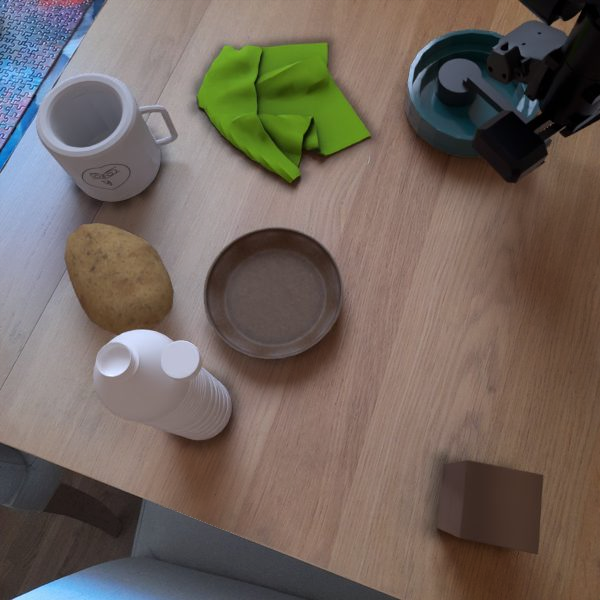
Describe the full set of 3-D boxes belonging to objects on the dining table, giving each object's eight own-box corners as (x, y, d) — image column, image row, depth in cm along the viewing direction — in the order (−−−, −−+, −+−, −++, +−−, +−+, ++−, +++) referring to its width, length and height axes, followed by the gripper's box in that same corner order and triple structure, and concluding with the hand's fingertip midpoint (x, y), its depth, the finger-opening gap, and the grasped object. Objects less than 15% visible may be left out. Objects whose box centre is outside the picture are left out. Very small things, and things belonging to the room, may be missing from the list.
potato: (130, 222, 66) (103, 188, 58) (204, 307, 62) (187, 283, 55) (62, 275, 64) (25, 248, 57) (134, 366, 61) (106, 349, 53)
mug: (79, 212, 67) (37, 168, 57) (70, 136, 70) (29, 82, 61) (191, 187, 67) (167, 138, 57) (177, 112, 70) (153, 54, 61)
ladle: (426, 87, 69) (431, 64, 65) (458, 65, 69) (464, 41, 66) (520, 175, 64) (530, 156, 60) (553, 151, 64) (565, 130, 61)
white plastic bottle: (168, 440, 58) (53, 410, 34) (173, 377, 60) (69, 308, 36) (252, 441, 58) (195, 412, 34) (255, 378, 60) (203, 308, 36)
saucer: (200, 250, 64) (194, 240, 62) (327, 224, 65) (326, 214, 62) (219, 376, 60) (213, 372, 57) (355, 348, 60) (356, 342, 57)
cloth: (207, 39, 74) (203, 24, 71) (377, 45, 72) (378, 31, 69) (182, 178, 67) (177, 167, 65) (367, 188, 66) (368, 178, 63)
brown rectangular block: (505, 475, 55) (543, 474, 45) (500, 541, 54) (538, 554, 44) (443, 463, 56) (467, 459, 46) (436, 527, 54) (459, 538, 44)
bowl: (536, 61, 70) (548, 37, 66) (527, 168, 65) (539, 149, 61) (412, 47, 71) (417, 22, 68) (395, 150, 67) (399, 131, 63)
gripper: (607, -56, 52) (546, 64, 67) (450, 49, 49) (423, 149, 64) (703, 20, 49) (616, 128, 64) (541, 136, 46) (490, 220, 61)
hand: (535, 154), depth 63 cm, fingers open, 8 cm apart
